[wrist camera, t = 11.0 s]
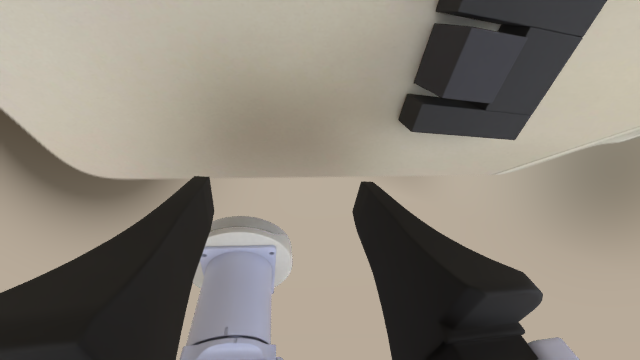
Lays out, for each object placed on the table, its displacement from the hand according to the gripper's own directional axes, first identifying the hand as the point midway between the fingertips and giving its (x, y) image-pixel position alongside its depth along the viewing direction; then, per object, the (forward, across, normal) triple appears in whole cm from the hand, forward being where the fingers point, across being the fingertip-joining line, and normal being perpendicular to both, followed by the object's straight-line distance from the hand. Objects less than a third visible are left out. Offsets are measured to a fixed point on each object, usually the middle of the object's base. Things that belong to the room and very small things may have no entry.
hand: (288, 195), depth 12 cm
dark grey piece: (+9, -15, -6) cm, 18 cm away
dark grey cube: (+9, -12, -6) cm, 16 cm away
